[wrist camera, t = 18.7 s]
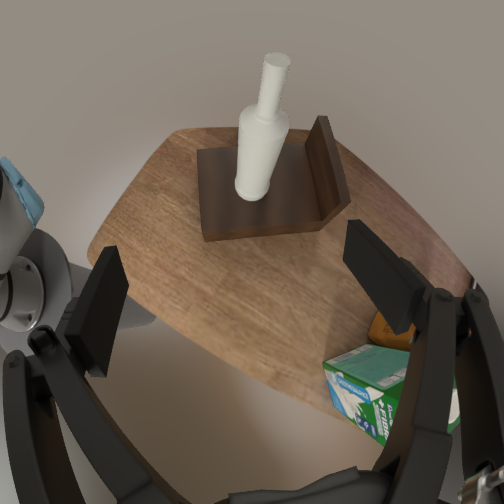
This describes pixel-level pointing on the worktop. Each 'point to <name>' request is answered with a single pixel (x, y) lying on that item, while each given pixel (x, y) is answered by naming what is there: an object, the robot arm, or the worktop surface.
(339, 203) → the shelf
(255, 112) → the bottle
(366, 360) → the milk carton
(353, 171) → the worktop surface
